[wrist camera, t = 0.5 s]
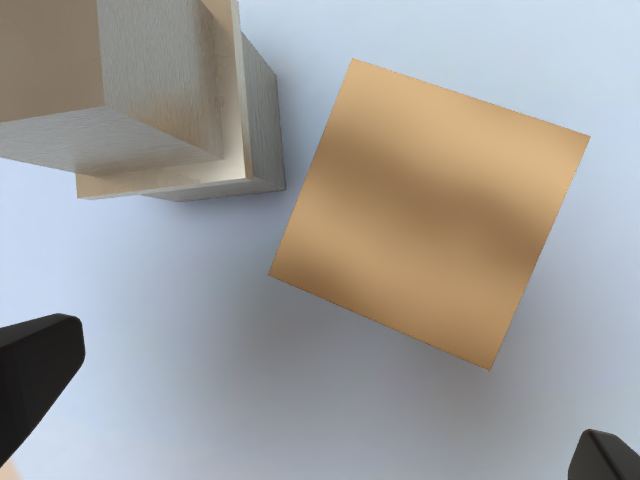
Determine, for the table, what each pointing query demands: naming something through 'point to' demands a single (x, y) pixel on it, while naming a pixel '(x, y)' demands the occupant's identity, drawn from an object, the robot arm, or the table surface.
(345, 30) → the table surface
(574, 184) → the table surface
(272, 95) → the block
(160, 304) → the table surface
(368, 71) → the stand
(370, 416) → the table surface
